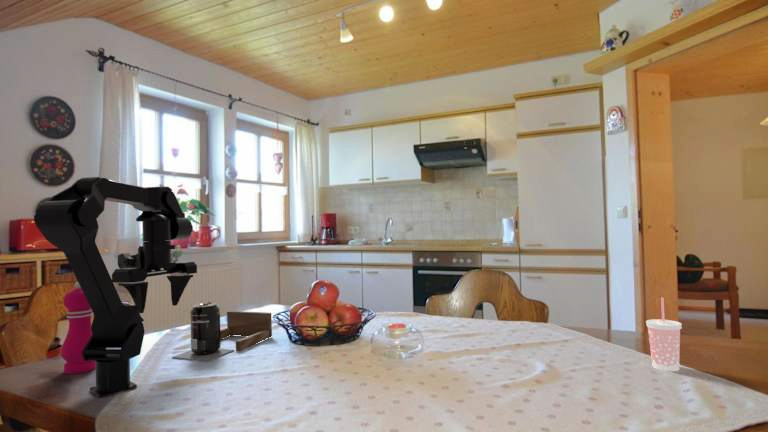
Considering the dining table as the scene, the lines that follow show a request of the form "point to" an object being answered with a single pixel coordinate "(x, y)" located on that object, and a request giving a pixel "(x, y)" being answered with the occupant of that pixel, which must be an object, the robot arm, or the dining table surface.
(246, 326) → the shelf lane
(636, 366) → the dining table surface
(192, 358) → the mat
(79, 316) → the pepper mill
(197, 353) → the beverage can
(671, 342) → the beverage cup
